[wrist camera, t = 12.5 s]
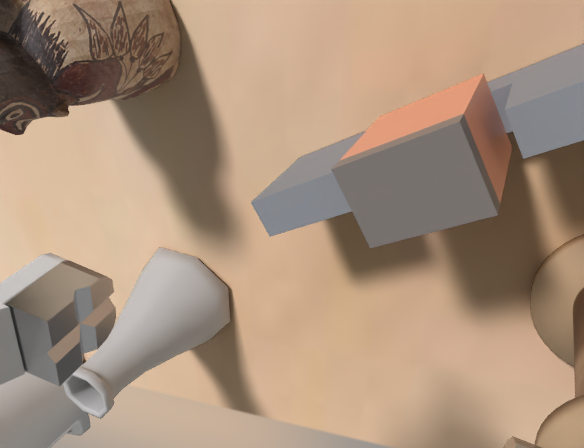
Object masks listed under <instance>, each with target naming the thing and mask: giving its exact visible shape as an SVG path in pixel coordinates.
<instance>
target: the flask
mask: <svg viewBox="0 0 584 448" xmlns="http://www.w3.org/2000/svg"><path fill="white" fill-rule="evenodd" d="M229 322H230V309H229V294H228V287H227V286H226V285H225V284H224V283H223V282H222V281H221V280H220V279H219V278H218V277H217V276H216V275H214V274H213V273H212V272H211V271H210V270H209V269H208V268H207V267H206V266H205V265H204V264H203V263H202V262H201V261H200V260H199V259H197V258H196V257H194V256H190V255H187V254H183V253H179V252H176V251H172V250H169V249H165V248H161V247H159V248H158V250H157V251H156V252H155V254H154V255H153V256H152V258H151V259H150V260H149V262H148V263H147V265H146V266H145V267H144V269H143V270H142V272H141V274H140V276H139V278H138V280H137V282H136V284H135V286H134V288H133V290H132V292H131V294H130V297H129V299H128V301H127V303H126V305H125V307H124V309H123V310H122V312H121V314H120V316H119V318H118V320H117V322H116V323H115V325H114V327H113V329H112V331H111V333H110V335H109V336H108V338H107V340H106V341H105V342H104V343H103V344H102V346H101V347H100V348H99V349H98V351H97V352H96V353H95V354H94V355H93V356H92V357H91V358H90V359H89V360H87V361H86V362H85V363H84V364H83V365H81V366H80V367H79V368H78V369H77V370H76V371H75V372H74V373H73V374H72V375H71V376H70V377H69V378H68V379H67V380H66V381H65V382H64V383H63V386H64V389H65V392H66V396H67V397H68V398H69V399H71V400H72V401H73V402H74V403H75V404H76V405H77V406H78V407H79V408H80V409H81V410H82V411H84V412H86V413H89V414H91V415H93V416H96V417H98V418H100V419H101V418H102V417H103V416H104V415H105V414H106V413H107V412H108V411H109V410H110V409H111V408H112V407H113V405H114V400H113V399H114V398H115V396H116V395H117V394H118V393H119V392H120V391H121V390H122V389H123V388H124V387H126V386H127V385H128V384H130V383H131V382H132V381H134V380H135V379H136V378H138V377H139V376H140V375H142V374H143V373H144V372H146V371H148V370H150V369H152V368H154V367H156V366H157V365H159V364H161V363H163V362H165V361H167V360H169V359H171V358H173V357H175V356H177V355H179V354H181V353H183V352H185V351H187V350H190V349H192V348H194V347H196V346H198V345H200V344H202V343H204V342H206V341H208V340H210V339H212V338H213V337H214V336H215V335H216V334H217V333H218V332H219V331H220V330H221V329H222V328H223V327H224V326H226V325H227V324H228V323H229Z"/></svg>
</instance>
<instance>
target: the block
mask: <svg viewBox="0 0 584 448" xmlns="http://www.w3.org/2000/svg"><path fill="white" fill-rule="evenodd" d="M511 152H512V146H511V143H510V141H509V138H508V135H507V133H506V130H505V128H504V125H503V123H502V120H501V117H500V115H499V112H498V110H497V107H496V104H495V102H494V99H493V97H492V94H491V91H490V89H489V86H488V84H487V81H486V79H485V76H484V74H481V75H479V76H477V77H474V78H472V79H469V80H467V81H465V82H462V83H460V84H457V85H455V86H452V87H450V88H448V89H445V90H443V91H440V92H438V93H436V94H433V95H431V96H428V97H426V98H423V99H421V100H419V101H416V102H414V103H411V104H409V105H406V106H404V107H402V108H399V109H397V110H394V111H392V112H390V113H387V114H385V115H382V116H380V117H379V118H378V119H377V120H376V121H375V122H374V123H373V124H372V125H371V126H370V128H369V129H368V130H367V131H366V132H365V133H364V134H363V135H362V136H361V137H360V138H359V140H358V141H357V142H356V143H355V144H354V145H353V146H352V147H351V148H350V149H349V150H348V152H347V153H346V154H345V155H344V156H343V157H342V158H341V159H340V160H339V161H338V162H337V164H336V165H335V166H334V167H333V168H332V169H331V170H332V172H333V174H334V176H335V178H336V180H337V182H338V184H339V186H340V188H341V190H342V192H343V194H344V196H345V198H346V200H347V202H348V205H349V207H350V209H351V211H352V213H353V215H354V217H355V219H356V221H357V223H358V225H359V227H360V229H361V231H362V233H363V235H364V237H365V239H366V241H367V243H368V245H369V247H370V248H373V247H377V246H381V245H385V244H389V243H393V242H397V241H400V240H404V239H408V238H412V237H416V236H420V235H424V234H428V233H432V232H435V231H439V230H443V229H447V228H451V227H455V226H459V225H463V224H466V223H470V222H474V221H478V220H482V219H486V218H490V217H494V216H497V215H498V213H499V208H500V204H501V199H502V194H503V189H504V185H505V180H506V175H507V171H508V166H509V161H510V157H511Z"/></svg>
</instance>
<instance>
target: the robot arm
mask: <svg viewBox="0 0 584 448" xmlns="http://www.w3.org/2000/svg"><path fill="white" fill-rule="evenodd" d="M113 292H114V288H113V281H112V279H110V278H108V277H106V276H104V275H102V274H100V273H97V272H95V271H93V270H90V269H88V268H86V267H83V266H81V265H79V264H76V263H74V262H72V261H69V260H66V259H64V258H62V257H59V256H57V255H54V254H52V253H48V254H43V255H41V256H39V257H38V258H36V259H35V260H33V261H32V262H30V263H29V264H27V265H26V266H25V267H23V268H22V269H20V270H19V271H17V272H16V273H14V274H13V275H12V276H10V277H9V278H7V279H6V280H4V281H3V282H1V283H0V448H51V447H52V446H53V445H54V444H55V443H56V442H57V441H58V440H59V439H60V438H61V437H63V435H65V434H66V433H68V434H74V435H82V434H83V433H84V432H86V431H87V430H88V429H89V428H90V420H89V416H88V413H86V412H84V411H82V410H81V409H80V408H79V407H78V406H77V405H76V404H75V403H74V402H73V401H72V400H71V399H69V398H68V397H67V396H66V392H65V389H64V386H63V383H64V382H65V381H66V380H67V379H68V378H69V377H70V376H71V375H72V374H73V373H74V372H75V371H76V370H77V369H78V368H79V367H80V366H81V365H83V358H84V353H87V352H90V351H93V350H96V349H98V348H99V347H100V346H101V345H102V344H103V343H104V342H105V341H106V340H107V338H108V336H109V335H110V333H111V331H112V329H113V327H114V323H115V319H116V310H115V306H114V305H113V303H112V302H111V300H110V299H109V296H110V295H111V294H112V293H113ZM503 448H542V447H539V446H536V445H534V444H531V443H528V442H526V441H523V440H521V439H518V438H515V437H513V436H512V437H511V438H510V439H508V441H507V442H506V444H505V445H504V447H503Z"/></svg>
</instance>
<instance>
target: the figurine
mask: <svg viewBox="0 0 584 448" xmlns="http://www.w3.org/2000/svg"><path fill="white" fill-rule="evenodd" d="M180 49H181V36H180V30H179V26H178V21H177V19H176V16H175V14H174V11H173V9H172V6H171V3H170V1H169V0H0V129H1V130H3V131H6V132H9V133H11V134H15V135H21V134H24V131H25V129H26V127H27V126H28V125H29V123H30V122H31V121H32V120H35V119H39V118H43V117H65V116H68V114H69V111H68V106H69V105H70V106H72V105H85V104H91V103H96V102H101V101H106V100H112V99H128V98H132V97H136V96H139V95H140V94H145V93H147V92H148V91H150V90H152V89H154V88H156V87H159V86H160V85H161V84H163V83H164V82H166V81H168V80H169V79H171V78H172V77H173V76H174V75H175V73H176V70H177V68H178V65H179V60H180Z"/></svg>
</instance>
